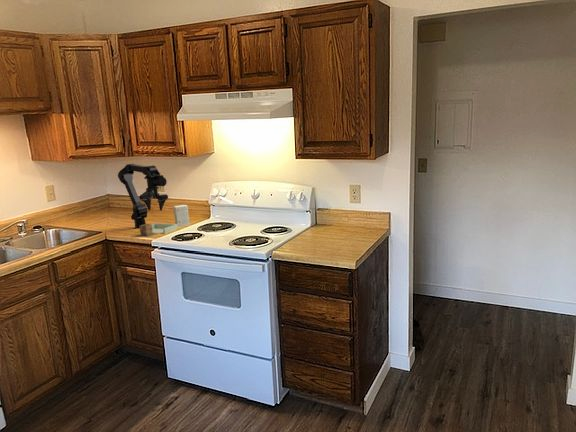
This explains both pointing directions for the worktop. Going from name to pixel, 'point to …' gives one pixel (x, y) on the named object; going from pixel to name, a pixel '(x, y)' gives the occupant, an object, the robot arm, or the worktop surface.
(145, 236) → the mat
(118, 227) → the worktop surface
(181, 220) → the small box
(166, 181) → the robot arm
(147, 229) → the walnut block
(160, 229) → the crate
